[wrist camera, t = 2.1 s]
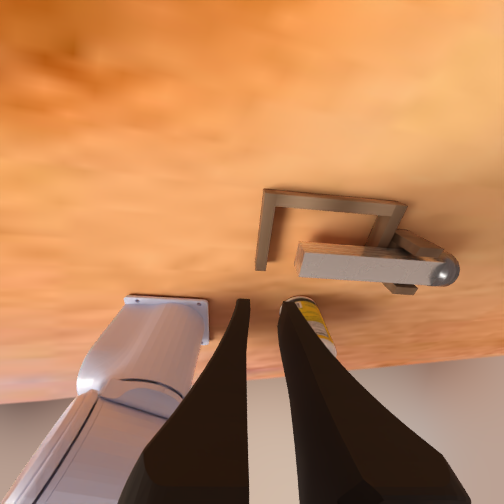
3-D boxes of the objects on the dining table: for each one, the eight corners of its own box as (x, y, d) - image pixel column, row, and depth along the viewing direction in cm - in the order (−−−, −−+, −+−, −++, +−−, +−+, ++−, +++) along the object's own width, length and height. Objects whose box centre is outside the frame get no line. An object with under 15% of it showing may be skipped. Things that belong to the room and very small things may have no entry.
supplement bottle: (308, 324, 25) (332, 398, 18) (274, 319, 24) (284, 393, 17) (323, 298, 23) (358, 370, 15) (286, 291, 22) (304, 363, 15)
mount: (255, 261, 20) (256, 286, 17) (263, 188, 16) (267, 200, 13) (385, 270, 21) (413, 295, 17) (421, 203, 17) (464, 217, 14)
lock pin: (291, 264, 19) (299, 284, 16) (298, 234, 17) (308, 251, 14) (416, 272, 19) (445, 294, 17) (434, 245, 18) (468, 263, 15)
